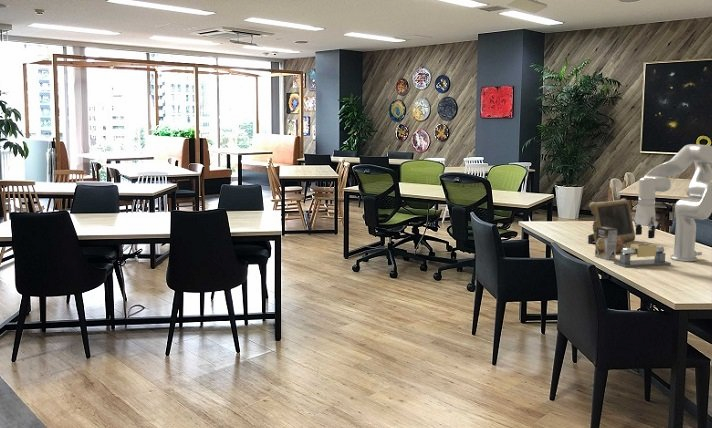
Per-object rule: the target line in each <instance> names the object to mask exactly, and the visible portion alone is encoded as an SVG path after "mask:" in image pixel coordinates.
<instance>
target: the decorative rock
mask: <svg viewBox="0 0 712 428" xmlns="http://www.w3.org/2000/svg"><path fill="white" fill-rule="evenodd" d="M624 244H625V242H624V240H623V239H622V238H621V237H620V236H618V235H617V243H616V253H622V249H624V246H625V245H624Z"/></svg>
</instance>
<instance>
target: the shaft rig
mask: <svg viewBox="0 0 712 428" xmlns="http://www.w3.org/2000/svg"><path fill="white" fill-rule="evenodd" d="M630 254H637V249H636V248H631V247H629V248H627V247H626V248H623V249H622V251H621V253H620V254H619V260H615V261H614V262H613V264H614V265H617V266H620V267H622V268H639V267H641V268H642V267H659V266H671V265H672V262H670V261H667V260H666V252H665V247H663V246H656V256H654V258H652V259H636V260H635V259H633V260H631V255H630Z"/></svg>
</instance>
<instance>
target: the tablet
mask: <svg viewBox="0 0 712 428" xmlns="http://www.w3.org/2000/svg"><path fill="white" fill-rule="evenodd" d="M588 208H589V209H590V211H591V215H593V224H592V231H593V233H591V234H589V235H588V236H587V239H588V240H587V244H588V245H589V244H593V243H594V244H595V245H596V231H597V227H605V226H606V227H610V228H614V229H618V230H617V235H618V236H620V237H621V238H622V239H623V240H624V243H625V242H631V241H633V242H634V241H635V239H636V231H635V229H634V228H635V226H634V220H633V217H632V213H631V206H630V203H629V201H628V200H627V199H626V198H620V199H617V200H611V201H610V200H608V201H597V202H596V201H592V202H591V201H590V203H589V204H588Z"/></svg>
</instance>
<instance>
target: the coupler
mask: <svg viewBox="0 0 712 428" xmlns="http://www.w3.org/2000/svg"><path fill="white" fill-rule="evenodd" d="M656 247H657V245H656V244H652V243H650V242H648V243H647V242H646V243H642V242H640V243H639V242H638V243H630V248H636V249H637V254H629V255H630V256H636V258H647V257H649V258H650V257H655V256H656Z"/></svg>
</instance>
